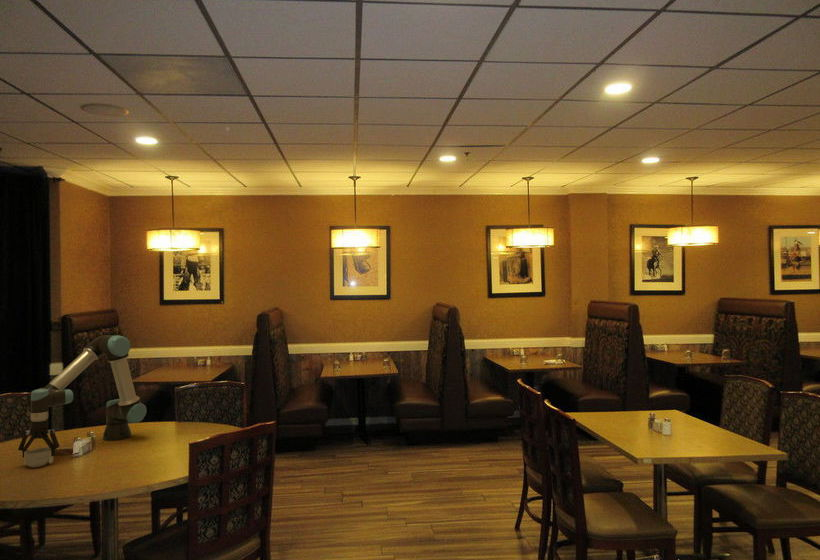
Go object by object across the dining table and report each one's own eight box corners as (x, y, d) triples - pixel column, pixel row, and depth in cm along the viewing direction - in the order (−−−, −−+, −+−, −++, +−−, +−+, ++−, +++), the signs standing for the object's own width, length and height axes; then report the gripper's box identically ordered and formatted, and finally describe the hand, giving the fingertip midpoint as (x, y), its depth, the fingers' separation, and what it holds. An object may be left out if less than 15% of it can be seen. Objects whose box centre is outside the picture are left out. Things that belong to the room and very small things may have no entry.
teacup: (37, 469, 268) (37, 453, 268) (18, 468, 270) (19, 452, 270) (60, 461, 281) (60, 445, 281) (42, 460, 283) (42, 444, 284)
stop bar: (79, 452, 296) (79, 446, 296) (77, 454, 293) (77, 448, 294) (35, 454, 292) (35, 448, 293) (32, 456, 290) (32, 450, 290)
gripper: (10, 422, 270) (9, 466, 270) (60, 420, 274) (60, 464, 273) (18, 419, 278) (17, 462, 277) (67, 417, 281) (66, 459, 281)
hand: (38, 463), depth 275 cm, fingers closed on teacup, 11 cm apart
